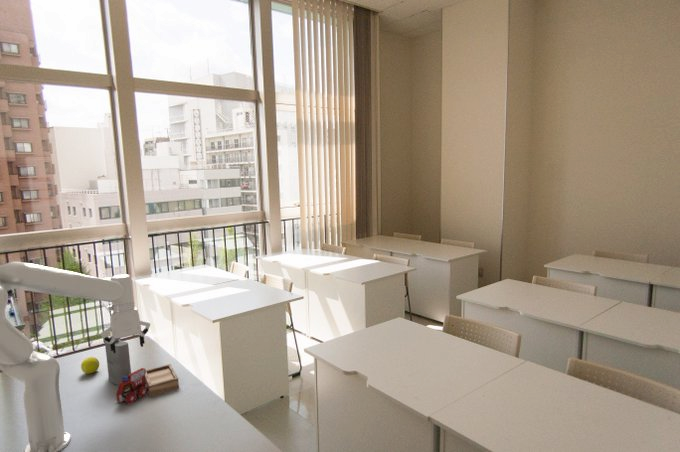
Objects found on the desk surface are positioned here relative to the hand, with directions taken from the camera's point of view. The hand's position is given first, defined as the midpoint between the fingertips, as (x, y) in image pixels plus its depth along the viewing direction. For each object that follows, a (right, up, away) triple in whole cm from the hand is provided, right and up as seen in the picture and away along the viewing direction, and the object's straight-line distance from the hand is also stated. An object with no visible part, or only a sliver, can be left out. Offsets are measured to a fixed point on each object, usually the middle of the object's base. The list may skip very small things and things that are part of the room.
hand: (128, 348), depth 164 cm
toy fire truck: (+1, -21, +2) cm, 21 cm away
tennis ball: (-30, -18, +26) cm, 43 cm away
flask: (-13, -19, +18) cm, 29 cm away
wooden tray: (+8, -19, +13) cm, 24 cm away
